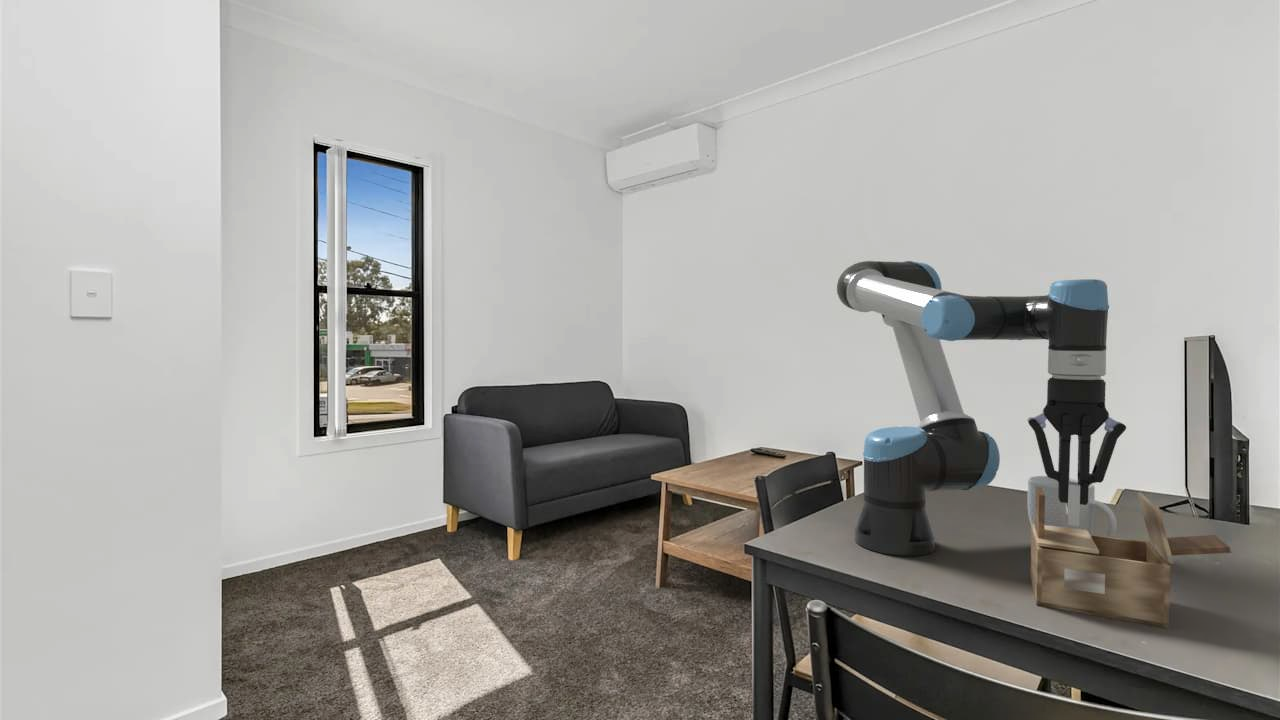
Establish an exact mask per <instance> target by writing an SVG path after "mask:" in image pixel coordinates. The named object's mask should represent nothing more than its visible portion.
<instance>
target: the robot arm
mask: <svg viewBox="0 0 1280 720" xmlns="http://www.w3.org/2000/svg"><path fill="white" fill-rule="evenodd" d="M1049 287H1050V288H1049V292H1048V294H1047V295H1032V296H1028V295H1027V296H1012V295H1011V296H1007V295H1006V296H1001V295H1000V296H999V295H997V296H996V295H995V296H991V295H990V296H979V295H977V296H975V295H974V296H973V295H963V294H961V293H960V294H958V293H956V292H951V291H946V290H944V289H943V290H942V282H941V279H940V276H939V274H938V272H937V271H936V270H935V269H934V267H933V266H931V265H929V264H927V263H924V262H919V261H918V262H917V261H913V260H905V261H877V260H876V261H875V260H866V261H860V262H856V263H854V264H852V265H850V266H849V267H846V269H845V270H844V271H843V272H842V273H841V274H840V276H839V278H838V281H837V284H836V292H837V293H836V294H837V296H838V298H839V300H840V302H841V303H842V304H843V305H844V306H845V307H847V308H848V309H851V310H854V311H858V312H859V313H860V312H861V313H869V312H875V313H876V314H877V313H878V314H881V316H882V320H883V323H884V324H885V325H886V326H889V327H891V328H892V329H893V334H894V336H895V340H896V344H897V347H898V351H899V353H900V357H901V360H902V364H903V367H904V370H905V373H906V377H907V380H908V385H909V388H910V390H911V394H912V397H913V402H914V404H915V407H916V411H917V415H918V418H919V421H920V423H919V425H918V426H917V427H916V426H891V427H885V428H884V427H882V428H879V429H875V430H873V431H870V432H869V433H868V434H867V435H866V436H865V439H864V447H863V452H862V455H863V505H862V507H861V510H860V513H859V515H858V518H857V520H856V523H855V527H854V542H856V543H857V544H858V545H859V546H861V547H862V548H865V549H868V550H871V551H874V552H877V553H881V554H887V555H894V556H905V557H906V556H909V557H912V556H915V557H917V556H924V555H927V554H928V555H929V554H930V553H932V552H934V551H935V549H936V537H935V535H934V531H933V527H932V525H931V521H930V518H929V516H928V513H927V509H926V508H927V507H926V500H927V499H926V498H927V497H926V495H927V494H926V493H927V492H938V491H939V492H941V491H959V490H960V491H969V490H974V489H975V490H976V489H980V488H984V487H987V486H988V485H990V484H991V483H992V481H994V479H995V478H996V476H997V472H998V471H999V467H1000V463H1001V461H1000V460H1001V459H1000V449H999V446H998V444H997V442H996V440H995V439H994V437H993V436H990V434H989V433H987V432H985V431H981V430H979V429H978V426H977V424H976V421H975V418H974V417H972V416H969V415H968V414H966V413H965V412H964V410H963V405H962V403H961V400H960V398H959V395H958V392H957V388H956V385H955V383H954V379H953V376H952V373H951V370H950V368H949V364H948V361H947V358H946V356H945V355H946V354H945V352H944V349H943V346H942V343H941V340H943V341H947V342H948V341H949V342H955V341H972V340H973V341H974V340H975V341H977V340H978V341H980V340H985V341H988V340H991V341H993V340H995V341H996V340H997V341H998V340H999V341H1000V340H1002V341H1003V340H1005V341H1007V340H1008V341H1009V340H1010V341H1015V340H1016V341H1023V340H1029V341H1030V340H1032V341H1033V340H1048V346H1047V347H1048V354H1047V355H1048V357H1047V373H1048V374H1049V375H1050V376H1051V375H1052V376H1051V377H1050V378H1048V379H1047V386H1046V387H1047V388H1046V389H1047V390H1046V391H1047V393H1046V394H1047V395H1046V399H1047V401H1046V405H1045V407H1044V408H1043V410H1042V413H1040V414H1038V415H1036V416H1034V417H1031V416H1030V417H1028V418H1027V423H1028V424H1029V425H1028V426H1030V427H1031V429H1032V430H1033V431H1034V434H1035V438H1036V441H1037V446H1038V449H1039V454H1040V457H1041V462H1042V465H1043V469H1044V473H1045V474H1046V475H1045V476H1048V477H1049V478H1052V479H1055V480H1057V481H1058V498H1059V500H1060V502H1062V503H1066V517H1065V520H1066V522H1067V524H1068V525H1072V526H1079V514H1080V504H1082V505H1087V503H1088V488H1089V485H1090V484H1096V483H1099V484H1101V483H1103V481H1104V479H1105V476H1106V473H1107V471H1108V468H1109V464H1110V462H1111V459H1112V456H1113V453H1114V451H1115V448H1116V444H1117V441H1118V438H1119V437H1121V435H1122V434H1124V432H1125V431H1126V430H1127V426H1126V425H1125V424H1124V423H1122V422H1121V421H1118V420H1115V419H1114V418H1111V417H1110V414H1109V411H1108V410H1107V408H1106V385H1107V384H1106V381H1105V379H1102V377H1104V376H1105V375H1107V374H1106V373H1107V372H1106V371H1107V370H1106V369H1107V334H1108V318H1109V316H1108V314H1109V309H1110V305H1109V298H1108V296H1109V294H1108V284H1107V283H1106V282H1105V281H1103V280H1102V279H1098V278H1097V279H1095V278H1091V279H1090V278H1088V279H1087V278H1085V279H1084V278H1083V279H1066V280H1057V281H1054V282H1052V283H1051V284H1050V286H1049ZM1046 420H1047V421H1048V422H1049V424H1051V426H1052V427H1053V428H1054V429H1055V431H1056V432H1057V433H1058V462H1057V463H1058V467H1057V469H1058V470H1055V466H1054V462H1053V459H1052V455H1051V452H1050V447H1049V444H1048V439H1047V436H1046V434H1045V430H1044V429H1045V428H1046V427H1047V424H1046ZM1103 424H1105V425H1104V427H1103V428H1104V431H1106V432H1105V433H1104V436H1103V438H1102V441H1101V445H1100V448H1099V451H1098V453H1097V456H1096V458H1095V459H1096V460H1095V463H1094V464H1093V469H1092V471H1091V473H1090V470H1091V469H1090V467H1091V465H1090V464H1091V462H1090V461H1091V459H1090V458H1091V442H1092V435H1093V434H1095V432H1096V431H1098V429H1100V428H1101V426H1103ZM1072 436H1077V439H1078V440H1077V442H1078V443H1077V444H1078V445H1077V447H1078V448H1077V449H1078V450H1077V451H1078V452H1077V479H1078V482H1072V481H1069V478H1070V464H1071V460H1070V459H1071V442H1072Z"/></svg>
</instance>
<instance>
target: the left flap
mask: <svg viewBox="0 0 1280 720" xmlns="http://www.w3.org/2000/svg"><path fill="white" fill-rule="evenodd" d="M1032 529H1033V533H1034V536H1035V539H1036V543H1037V546H1044V547H1051V548H1058V549H1066V550H1073V551H1080V552H1088V553H1095V554H1099V550H1098V548H1097V546H1096V545H1095V543H1094V541H1093V539H1092V538H1091V536H1090V535H1091V534H1089V532H1088V531H1087V530H1081V529H1073V528H1065V527H1056V526H1048V525H1045V494H1044V492H1043V490H1042V487H1036V503H1035V524H1032Z"/></svg>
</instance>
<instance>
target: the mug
mask: <svg viewBox="0 0 1280 720" xmlns="http://www.w3.org/2000/svg"><path fill="white" fill-rule="evenodd" d="M1069 481H1072V482H1078V478H1072V477H1069ZM1036 487H1042V490H1043V492H1044V494H1045V525H1048V526H1056V527H1065V528H1073V529H1081V530H1087V531H1088V532H1089V534H1090V533H1091V530H1092V527H1093V522H1094V515H1095V507H1096V508H1099V509H1101V510H1102V511H1103V512H1104V513H1105V514H1106V517H1107V519H1108V523H1109V528H1108V531H1107V533H1106V534H1105V536H1106V537H1114V538H1115V536H1116V532H1117V527H1118V523H1117V518H1116V516H1115V513H1114V512H1113V510H1112V509H1111V507H1109V506H1108V505H1107V504H1106V503H1104V502H1101V501H1098V500H1096V499H1095V492H1096V491H1095V484H1094V483H1092V484H1090V485H1089V488H1088V503H1087V505H1082V504H1080V514H1079V526H1072V525H1068V524H1067V522H1066V520H1065V517H1066V503H1062V502H1060V500H1059V498H1058V481H1057V480H1055V479H1052V478H1049V477H1048V476H1047V475H1033V476H1029V477H1028V478H1027V502H1026V503H1027V511H1028V512H1027V514H1028V520H1029V524H1030V526H1031V527H1032V524H1035V503H1036ZM1090 535H1091V534H1090Z"/></svg>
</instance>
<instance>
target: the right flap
mask: <svg viewBox="0 0 1280 720" xmlns="http://www.w3.org/2000/svg"><path fill="white" fill-rule="evenodd" d="M1137 497H1138V501H1139V504H1140V508H1141V511H1142V516H1143V519H1144V523H1145V527H1146V530H1147V535H1148V537H1149V542H1150V543H1151V544H1152V546H1153V547H1154V548H1155V549H1156V550H1157V551H1158V553H1159V554H1160V555H1161V556H1162V557H1163V559H1164V560H1165V561H1166V562H1167V563H1168V564H1169V565H1170V564H1175V563H1174V559H1173V556H1191V555H1210V554H1214V555H1216V554H1230V553H1232V551H1231V547H1230V546H1229V545H1227V543H1226V542H1224V541H1223V540H1222V539H1220V538H1219V537H1218V536H1217V535H1216V534H1210V535H1209V534H1208V535H1194V536H1193V535H1191V536H1190V535H1189V536H1177V537H1173V536H1172V537H1168V536H1167V533H1166V530H1165V525H1164V522H1163V518H1162V515H1161V512H1160V509H1159V508H1158V507H1157V506H1156V505H1155V504H1154V503H1153V502H1152V501H1151V500H1150V499H1149V498H1147V496H1146V495H1144V493H1142V492H1137Z"/></svg>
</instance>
